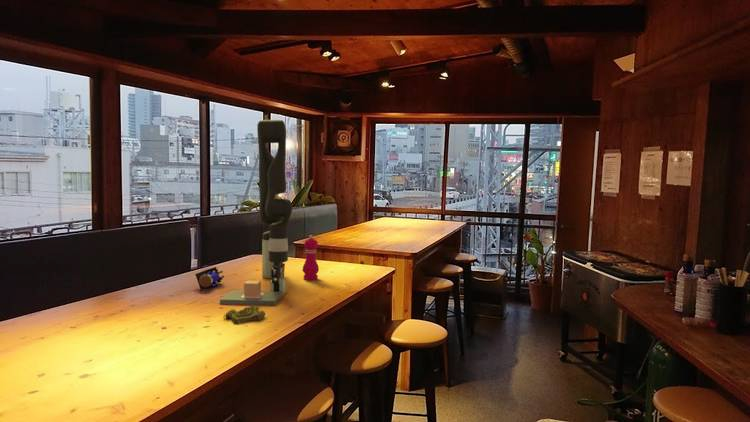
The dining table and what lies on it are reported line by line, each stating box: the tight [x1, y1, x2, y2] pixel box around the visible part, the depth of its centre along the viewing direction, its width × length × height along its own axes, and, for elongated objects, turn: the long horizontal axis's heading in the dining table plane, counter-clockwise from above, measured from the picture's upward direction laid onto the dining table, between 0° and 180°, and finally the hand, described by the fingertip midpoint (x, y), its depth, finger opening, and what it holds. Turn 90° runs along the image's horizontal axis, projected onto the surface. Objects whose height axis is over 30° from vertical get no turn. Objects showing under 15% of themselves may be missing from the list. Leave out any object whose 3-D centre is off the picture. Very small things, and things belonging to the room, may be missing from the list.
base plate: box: [219, 289, 284, 306], centre depth 185 cm, size 14×20×2 cm
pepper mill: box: [302, 234, 320, 281], centre depth 221 cm, size 7×7×20 cm
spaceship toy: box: [223, 305, 266, 325], centre depth 164 cm, size 12×18×4 cm
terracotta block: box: [243, 280, 262, 297], centre depth 184 cm, size 5×5×5 cm
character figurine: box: [194, 266, 225, 291], centre depth 203 cm, size 8×7×15 cm
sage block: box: [269, 278, 287, 295], centre depth 196 cm, size 5×5×5 cm
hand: (278, 291), depth 196 cm, fingers closed on sage block, 5 cm apart
